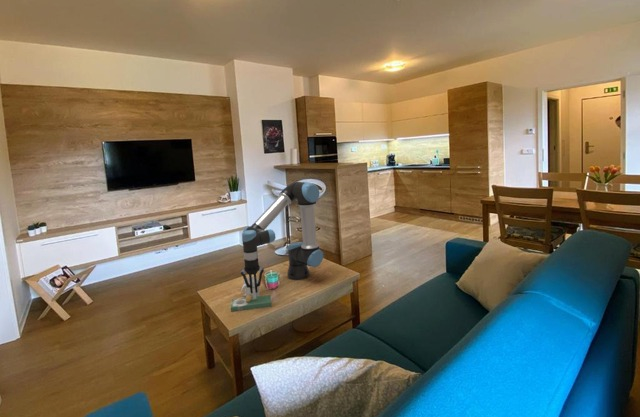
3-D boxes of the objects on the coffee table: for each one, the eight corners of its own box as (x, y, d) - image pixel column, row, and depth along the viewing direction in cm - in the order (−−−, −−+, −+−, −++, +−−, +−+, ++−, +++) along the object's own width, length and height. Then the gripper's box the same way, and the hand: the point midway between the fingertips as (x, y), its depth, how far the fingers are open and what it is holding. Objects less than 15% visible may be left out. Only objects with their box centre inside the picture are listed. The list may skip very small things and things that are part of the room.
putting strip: (270, 298, 198) (270, 294, 197) (271, 306, 188) (271, 302, 188) (232, 303, 194) (232, 299, 194) (231, 311, 184) (230, 307, 184)
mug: (237, 299, 199) (235, 282, 197) (253, 292, 208) (252, 275, 206) (246, 303, 194) (244, 285, 191) (262, 295, 202) (261, 278, 200)
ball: (244, 298, 191) (249, 301, 192) (244, 300, 188) (249, 303, 189) (247, 293, 191) (253, 296, 192) (247, 295, 188) (253, 298, 189)
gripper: (262, 254, 191) (266, 293, 195) (239, 257, 188) (243, 296, 193) (263, 259, 183) (266, 299, 188) (238, 261, 181) (242, 302, 186)
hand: (254, 298), depth 190 cm, fingers closed
